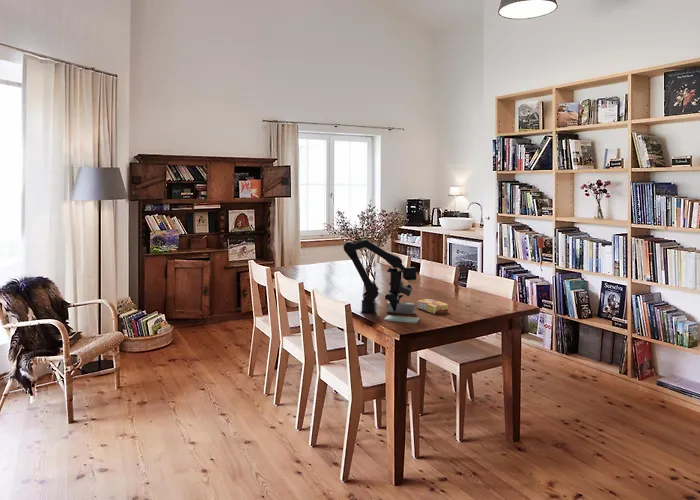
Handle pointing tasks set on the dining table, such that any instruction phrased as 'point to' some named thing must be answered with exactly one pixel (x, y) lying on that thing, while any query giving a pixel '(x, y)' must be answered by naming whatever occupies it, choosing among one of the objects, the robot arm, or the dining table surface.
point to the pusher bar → (402, 308)
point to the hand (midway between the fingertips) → (395, 310)
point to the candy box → (432, 306)
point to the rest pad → (402, 319)
